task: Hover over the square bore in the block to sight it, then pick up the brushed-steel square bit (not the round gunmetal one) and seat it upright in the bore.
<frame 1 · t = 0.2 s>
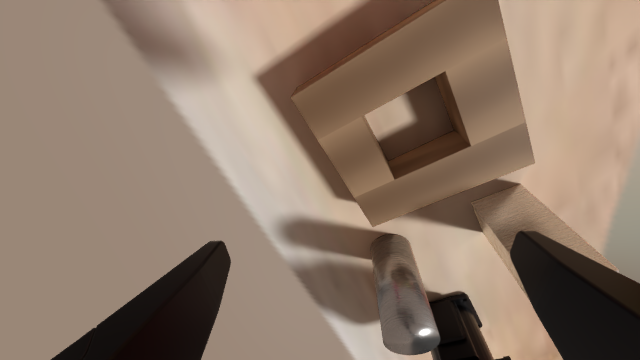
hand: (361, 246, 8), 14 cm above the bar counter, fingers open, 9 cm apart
round bit: (390, 249, 27), on the bar counter
square bit: (500, 209, 23), on the bar counter
bore block: (406, 117, 20), on the bar counter
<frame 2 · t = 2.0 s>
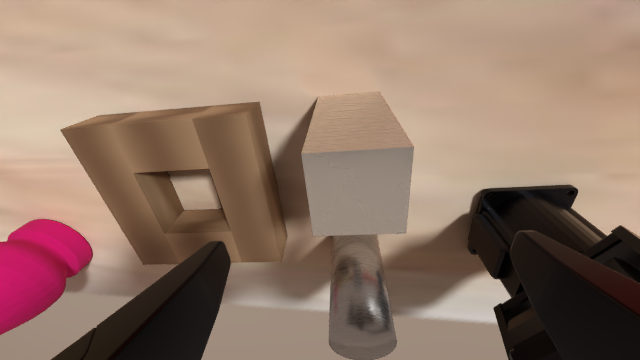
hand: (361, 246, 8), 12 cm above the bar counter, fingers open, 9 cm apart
round bit: (354, 237, 23), on the bar counter
square bit: (349, 123, 18), on the bar counter
bore block: (203, 182, 21), on the bar counter
pepper mill: (62, 241, 26), on the bar counter
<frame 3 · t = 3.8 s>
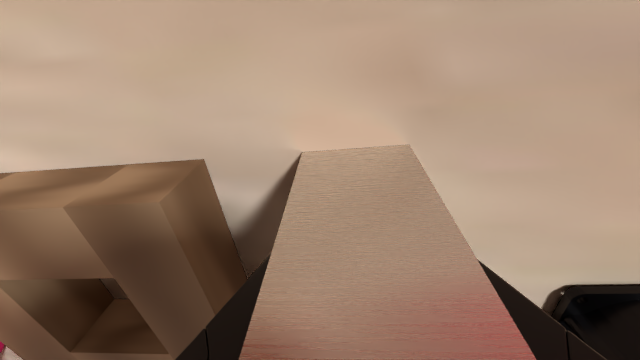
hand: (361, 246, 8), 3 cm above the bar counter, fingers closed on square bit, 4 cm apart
square bit: (356, 193, 11), on the bar counter, touching gripper
bore block: (134, 266, 14), on the bar counter
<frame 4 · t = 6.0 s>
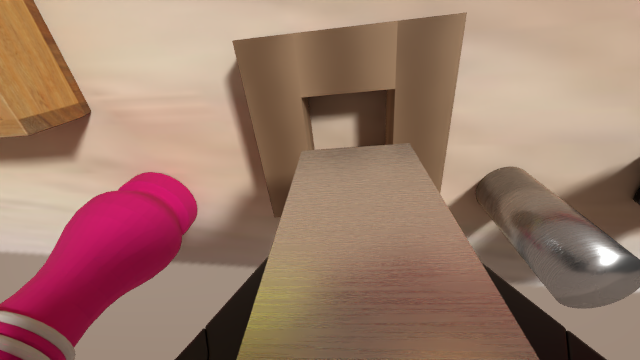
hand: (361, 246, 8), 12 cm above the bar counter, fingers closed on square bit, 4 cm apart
round bit: (502, 189, 21), on the bar counter
square bit: (356, 192, 11), point 9 cm above the bar counter, touching gripper
bore block: (348, 122, 19), on the bar counter
pepper mill: (165, 200, 24), on the bar counter
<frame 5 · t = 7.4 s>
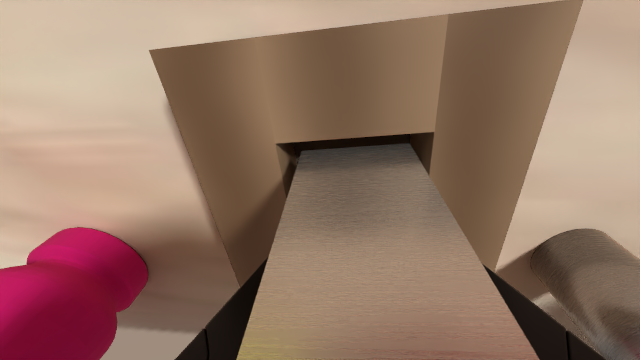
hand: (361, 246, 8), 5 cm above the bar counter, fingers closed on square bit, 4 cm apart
round bit: (570, 255, 15), on the bar counter
square bit: (356, 192, 11), point 2 cm above the bar counter, touching gripper
bore block: (352, 167, 13), on the bar counter
pepper mill: (104, 259, 18), on the bar counter
when the fingers open (4 cm above the bar counter, at t = 8.4 s): square bit drops 2 cm, resting in bore block.
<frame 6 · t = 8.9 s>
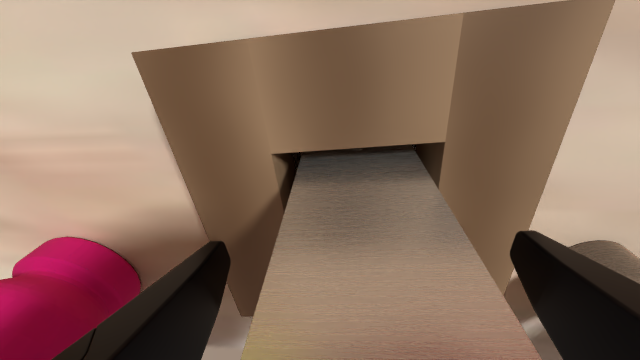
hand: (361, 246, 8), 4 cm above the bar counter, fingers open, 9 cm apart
round bit: (583, 268, 14), on the bar counter
square bit: (355, 174, 12), resting in bore block
bore block: (353, 176, 12), on the bar counter
pepper mill: (95, 269, 17), on the bar counter
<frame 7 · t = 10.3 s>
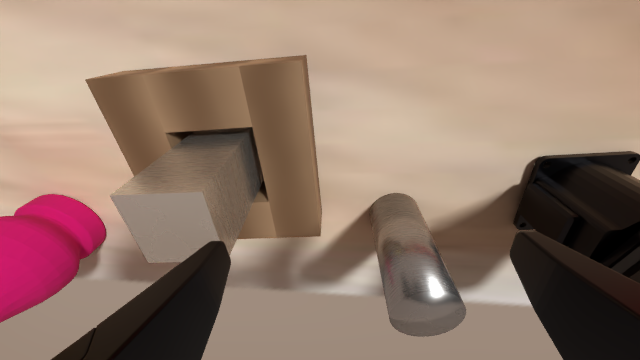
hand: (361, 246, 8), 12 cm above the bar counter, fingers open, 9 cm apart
round bit: (393, 213, 22), on the bar counter
square bit: (236, 149, 20), resting in bore block
bore block: (235, 150, 20), on the bar counter
pepper mill: (72, 220, 24), on the bar counter
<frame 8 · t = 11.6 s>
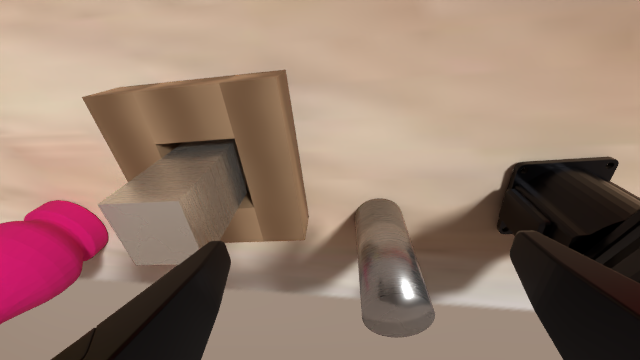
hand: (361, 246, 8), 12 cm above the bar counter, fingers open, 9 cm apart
round bit: (378, 217, 23), on the bar counter
square bit: (224, 157, 21), resting in bore block
bore block: (224, 159, 21), on the bar counter
pepper mill: (77, 224, 26), on the bar counter
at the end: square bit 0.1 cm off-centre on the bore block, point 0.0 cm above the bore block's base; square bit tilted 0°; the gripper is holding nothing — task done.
